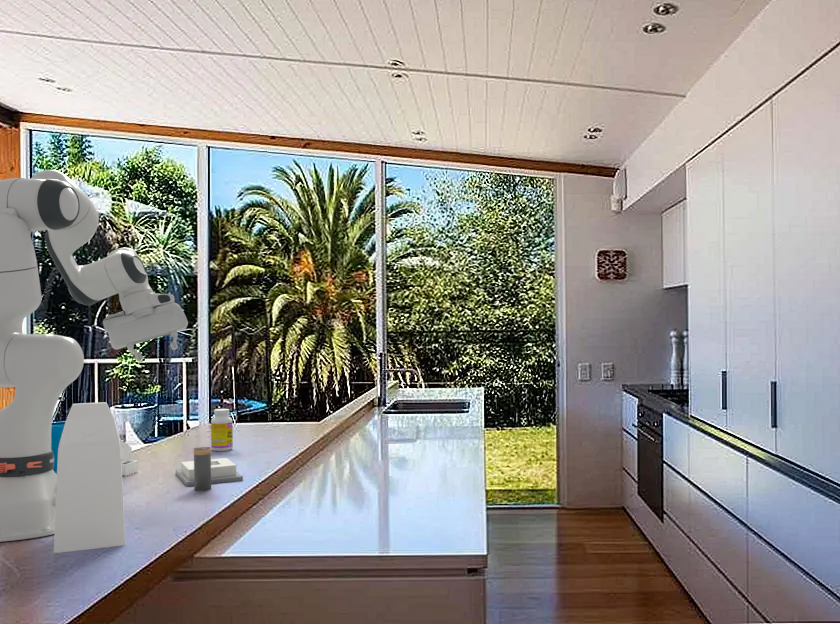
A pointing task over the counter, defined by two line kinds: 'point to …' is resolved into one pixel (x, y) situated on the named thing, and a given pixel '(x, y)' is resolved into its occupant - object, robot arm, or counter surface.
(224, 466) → the socket
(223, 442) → the supplement bottle
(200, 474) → the battery
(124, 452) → the white angled block
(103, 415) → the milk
